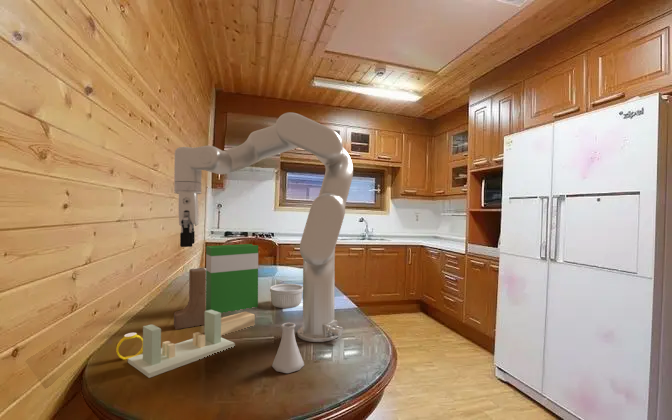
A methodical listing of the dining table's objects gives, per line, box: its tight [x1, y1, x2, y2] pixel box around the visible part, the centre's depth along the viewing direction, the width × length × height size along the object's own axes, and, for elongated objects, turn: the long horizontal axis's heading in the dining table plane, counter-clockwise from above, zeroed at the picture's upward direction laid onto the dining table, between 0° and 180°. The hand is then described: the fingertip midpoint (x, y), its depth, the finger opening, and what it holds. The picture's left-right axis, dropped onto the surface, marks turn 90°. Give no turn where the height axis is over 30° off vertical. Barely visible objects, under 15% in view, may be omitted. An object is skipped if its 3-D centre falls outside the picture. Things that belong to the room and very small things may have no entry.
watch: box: [115, 332, 143, 361], centre depth 83 cm, size 6×3×6 cm, turn 128°
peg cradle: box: [127, 310, 236, 379], centre depth 85 cm, size 12×22×9 cm, turn 142°
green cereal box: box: [205, 243, 259, 314], centre depth 127 cm, size 18×7×24 cm, turn 124°
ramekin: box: [269, 283, 303, 309], centre depth 133 cm, size 13×13×7 cm
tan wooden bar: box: [221, 311, 256, 337], centre depth 104 cm, size 5×12×4 cm, turn 140°
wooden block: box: [173, 267, 207, 330], centre depth 107 cm, size 9×4×18 cm, turn 122°
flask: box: [271, 322, 305, 374], centre depth 79 cm, size 7×7×10 cm
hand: (187, 245), depth 100 cm, fingers open, 9 cm apart
